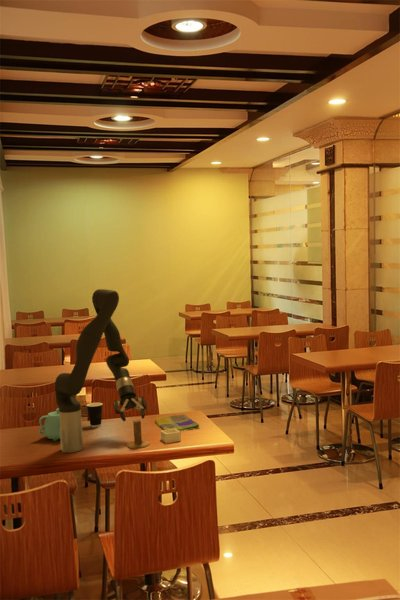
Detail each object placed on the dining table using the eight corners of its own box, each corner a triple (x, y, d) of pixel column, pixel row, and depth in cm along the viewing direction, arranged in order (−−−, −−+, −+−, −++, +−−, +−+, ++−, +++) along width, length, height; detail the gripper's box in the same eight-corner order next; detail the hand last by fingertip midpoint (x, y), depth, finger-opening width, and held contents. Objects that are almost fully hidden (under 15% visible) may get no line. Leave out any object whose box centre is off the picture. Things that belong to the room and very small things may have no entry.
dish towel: (164, 434, 291) (164, 428, 291) (154, 422, 314) (153, 417, 314) (200, 429, 295) (200, 424, 295) (187, 418, 319) (187, 413, 319)
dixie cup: (88, 424, 315) (87, 403, 314) (104, 423, 316) (103, 401, 315) (87, 428, 307) (85, 406, 307) (103, 427, 308) (101, 405, 307)
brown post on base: (130, 449, 267) (129, 424, 266) (124, 444, 275) (123, 420, 275) (152, 446, 270) (150, 421, 269) (145, 441, 279) (144, 417, 278)
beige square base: (165, 443, 274) (165, 434, 273) (161, 439, 280) (160, 430, 280) (180, 440, 276) (180, 431, 276) (175, 437, 283) (175, 428, 283)
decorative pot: (62, 443, 282) (60, 414, 281) (35, 440, 290) (34, 411, 289) (85, 434, 296) (84, 406, 295) (60, 431, 304) (58, 403, 303)
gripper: (111, 386, 282) (119, 416, 272) (141, 382, 287) (150, 411, 277) (109, 395, 287) (117, 426, 277) (139, 391, 292) (148, 421, 282)
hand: (134, 418), depth 277 cm, fingers open, 8 cm apart
